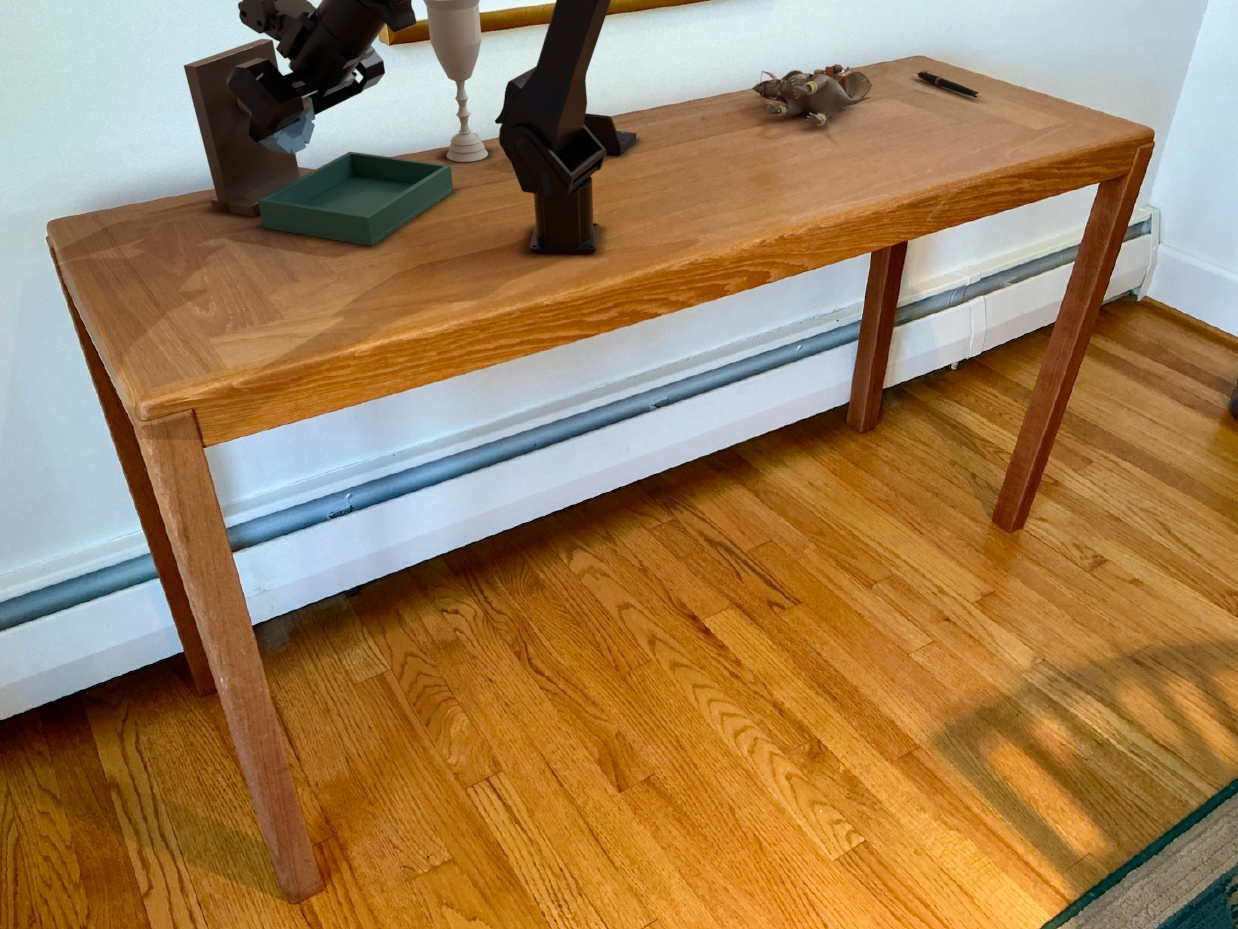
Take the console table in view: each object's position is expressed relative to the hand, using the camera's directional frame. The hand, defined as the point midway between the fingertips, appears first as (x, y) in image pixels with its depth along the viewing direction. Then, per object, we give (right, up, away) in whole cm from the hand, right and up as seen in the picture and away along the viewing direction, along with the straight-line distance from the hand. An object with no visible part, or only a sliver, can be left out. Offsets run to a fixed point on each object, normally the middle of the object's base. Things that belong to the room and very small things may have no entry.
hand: (275, 128), depth 105 cm
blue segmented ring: (+1, +1, -1) cm, 2 cm away
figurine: (+64, +12, +30) cm, 71 cm away
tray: (+9, -8, +2) cm, 12 cm away
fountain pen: (+84, +18, +37) cm, 94 cm away
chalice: (+18, +2, +16) cm, 24 cm away
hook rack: (0, -6, +5) cm, 8 cm away
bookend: (+32, +4, +18) cm, 37 cm away
